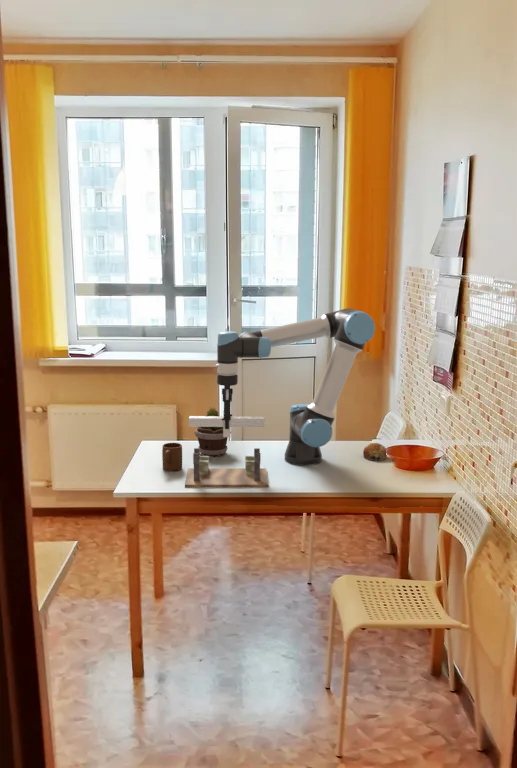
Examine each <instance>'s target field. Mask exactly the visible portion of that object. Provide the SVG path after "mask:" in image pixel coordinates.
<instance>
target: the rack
mask: <svg viewBox="0 0 517 768" xmlns="http://www.w3.org/2000/svg"><path fill="white" fill-rule="evenodd" d="M253 451H254V452H253V455H245V456H244V457H245V458H244V468H240V467H239V468H236V467H235V468H234V467H233V468H229V467H228V468H225V467H224V468H223V467H222V468H220V467H219V468H218V467H217V468H215V467H214V468H211V467H210V463H209V462H210V457H209V456H203V455H201V453H200V448H198V447H197V448H196V447H194V449H193V453H192V460H193V461H192V462H193V463H192V464H193V467H191V468H187V471H186V476H185V481H184V488H269V486H270V485H269V479H268V473H267V468H265V467H264V468H261V454H262V453H261V452H260V451H261V450H260V448H259V447H258V448H257V447H256V448H254V449H253ZM209 467H210V468H209Z"/></svg>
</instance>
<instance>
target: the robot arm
mask: <svg viewBox="0 0 517 768" xmlns="http://www.w3.org/2000/svg"><path fill="white" fill-rule="evenodd" d="M375 332H376V324H375V321H374V319H373V318H372V317H371V315H369V313H367V312H365V311H362V310H358V309H355V308H343V309H339V310H334V311H332V312H327V313H324V314H322V315H321V316H320V317H317V318H312V319H308V320H302V321H298V322H291V323H289V324H284V325H279V326H276V327H269V328H265V329H260V330H256V331H244V332H242V333H240V334H239V333H238V332H237V331H231V330H230V331H229V330H228V331H226V330H225V331H219V333H218V334H217V343H216V345H217V346H216V348H217V349H216V350H217V359H216V361H217V364H215V368H217V371H216V372H217V373H218V374H217V375H216V378H217V379H216V383H217V385H219V386H224V387H223V388H221V395H222V402H223V412H222V413H223V416H224V417H223V418H222V420H223V437H228V438H231V435H232V431H231V430H232V429H231V428H232V427H231V417H230V416H233V414H231V408H232V407H231V405H232V404H231V402H233V393H234V391H233V388H232V387H231V386H236V385H238V384H239V383H238V379H239V378H238V377H239V376H238V373H239V358H241V359H242V358H245V359H246V358H248V359H249V358H260V359H262V358H268V357H270V355H271V352H272V351H271V350H272V348H275V347H277V348H278V347H279V346H280V347H281V346H285V345H291V344H294V343H299V342H304V341H305V342H306V341H309V340H314V339H319V338H324V337H325V338H326V339H332V338H333V341H334V343H335V346H334V348H333V351H332V353H331V356H330V358H329V360H328V362H327V365H326V367H325V371H324V373H323V375H322V377H321V381H320V382H319V385H318V388H317V389H316V390H317V391H316V392H315V395H314V398H313V400H312V402H311V403H297V404H292V405H291V406H290V409H289V440H288V444H287V447H286V449H285V451H284V460H285V462H287V463H289V464H292V465H298V466H311V465H317V464H320V463H321V462H322V461H323V455H322V451H321V448H320V447H323V446H325V445H327V444H328V443H329V442H330V440H331V438H332V436H333V427H332V426H333V422H334V420H335V417H336V416H335V414H334V409H335V407H336V406H337V405H336V404H337V403H338V400H339V398H340V395H341V393H342V391H343V388H344V386H345V385H346V381H347V379H348V376H349V373H350V372H351V369H352V367H353V364H354V361H355V360H356V356H357V354H358V353H360V352H363V350H364V347H365V346H366V343H368V342H370V341H371V340H372V339H373V337H374V335H375Z"/></svg>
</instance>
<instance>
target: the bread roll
mask: <svg viewBox="0 0 517 768" xmlns="http://www.w3.org/2000/svg"><path fill="white" fill-rule="evenodd" d="M386 450H387V448H386V447H385V446H384V445H383V444H381V443H379V442H369V444H367V445H366V446H364V449H363V454H362V455H363V458H364V459H366V460H367V459H368V461H372V460H374V462H376V461H377V462H380V461H384V460H386V459H387V456H388V454H387V455H386ZM383 459H384V460H383ZM379 460H380V461H379Z"/></svg>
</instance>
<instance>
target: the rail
mask: <svg viewBox="0 0 517 768" xmlns="http://www.w3.org/2000/svg"><path fill="white" fill-rule="evenodd" d="M223 417H224V415H223V416H221V415H219V416H206V415H204V416H203V415H198V416H197V415H189V417H188V427H191V428H192V427H193V428H194V427H196V428H198V427H223V420H222V418H223ZM230 417H231V428H265V425H266V423H265V421H266V420H265V416H239V415H238V416H234V415H232V416H230Z"/></svg>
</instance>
